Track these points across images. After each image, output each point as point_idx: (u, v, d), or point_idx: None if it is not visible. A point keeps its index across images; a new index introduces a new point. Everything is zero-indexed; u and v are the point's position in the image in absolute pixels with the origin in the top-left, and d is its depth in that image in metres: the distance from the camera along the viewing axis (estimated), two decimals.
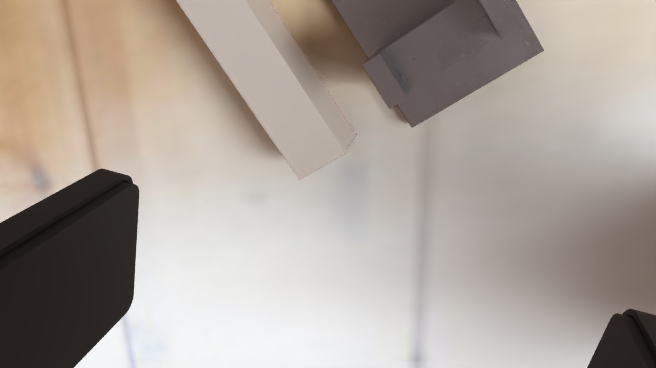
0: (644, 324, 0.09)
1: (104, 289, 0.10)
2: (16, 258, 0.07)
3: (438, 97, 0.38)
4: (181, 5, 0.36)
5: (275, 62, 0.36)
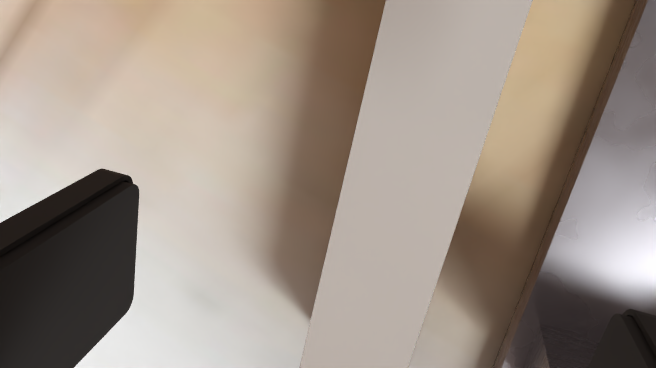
0: (644, 324, 0.09)
1: (104, 289, 0.10)
2: (16, 258, 0.07)
3: None
4: (375, 59, 0.17)
5: (423, 266, 0.19)
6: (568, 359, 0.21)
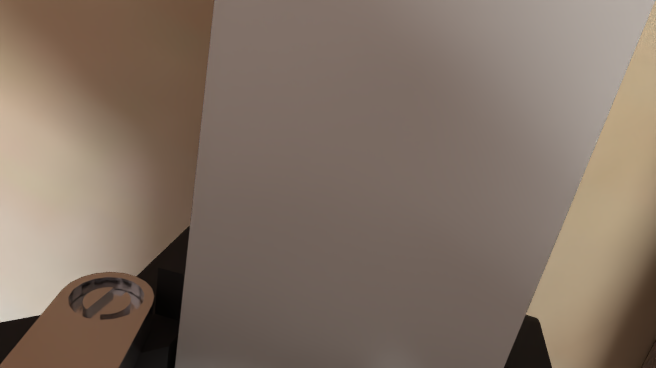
0: None
1: None
2: None
3: None
4: (201, 202, 0.06)
5: None
6: None
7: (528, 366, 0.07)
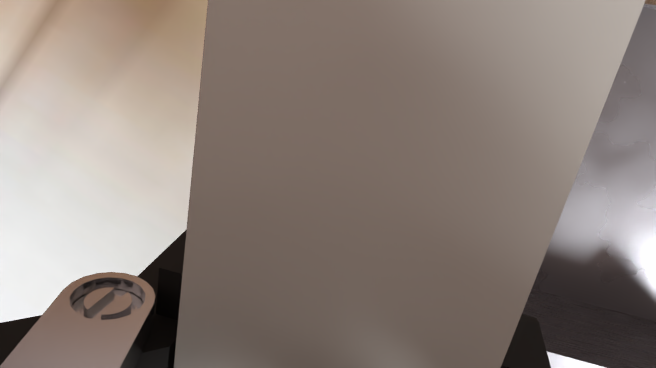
0: None
1: None
2: None
3: None
4: (198, 204, 0.06)
5: None
6: None
7: (527, 365, 0.07)
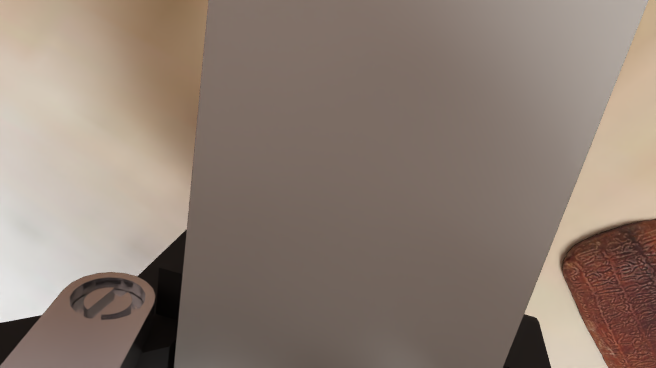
0: None
1: None
2: None
3: None
4: (198, 206, 0.06)
5: None
6: None
7: (527, 366, 0.07)
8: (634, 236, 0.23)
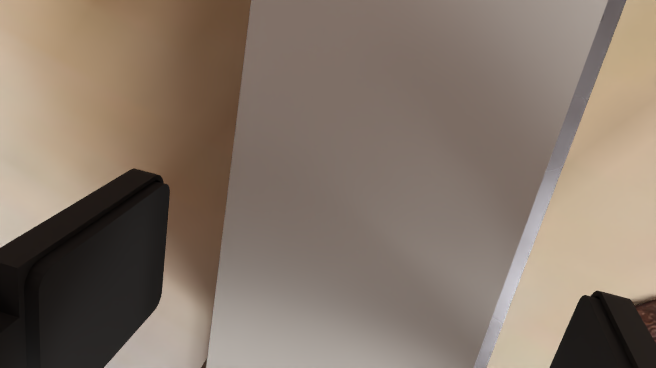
0: (609, 304, 0.09)
1: (137, 286, 0.10)
2: (63, 255, 0.08)
3: None
4: (238, 168, 0.07)
5: None
6: None
7: None
8: None
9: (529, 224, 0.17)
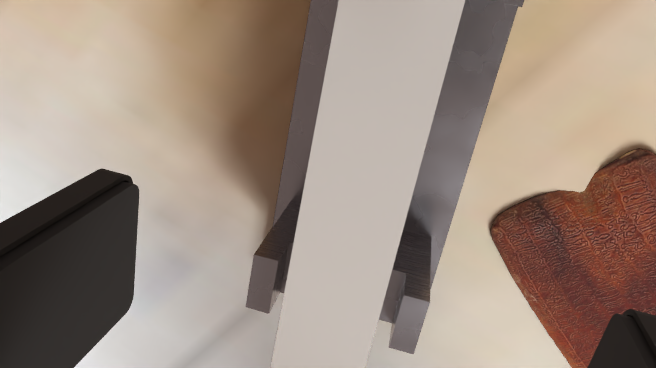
0: (644, 324, 0.09)
1: (104, 289, 0.10)
2: (16, 258, 0.07)
3: None
4: (328, 74, 0.19)
5: (378, 257, 0.21)
6: (296, 216, 0.30)
7: None
8: (541, 204, 0.30)
9: (470, 140, 0.28)
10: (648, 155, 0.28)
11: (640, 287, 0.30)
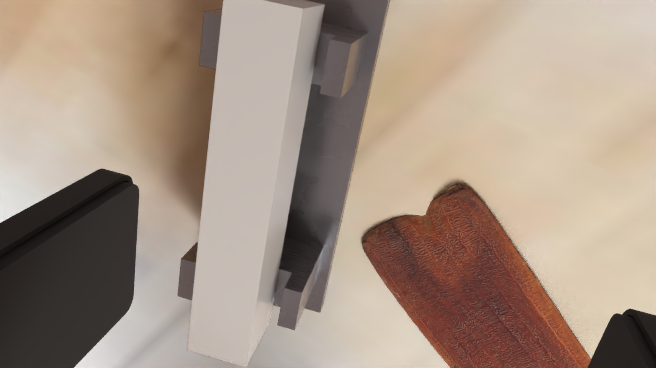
0: (644, 324, 0.09)
1: (104, 289, 0.10)
2: (16, 258, 0.07)
3: None
4: (210, 144, 0.29)
5: (252, 262, 0.31)
6: None
7: None
8: (394, 225, 0.40)
9: (345, 175, 0.39)
10: (463, 189, 0.38)
11: (469, 285, 0.40)
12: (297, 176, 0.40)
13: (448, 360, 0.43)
